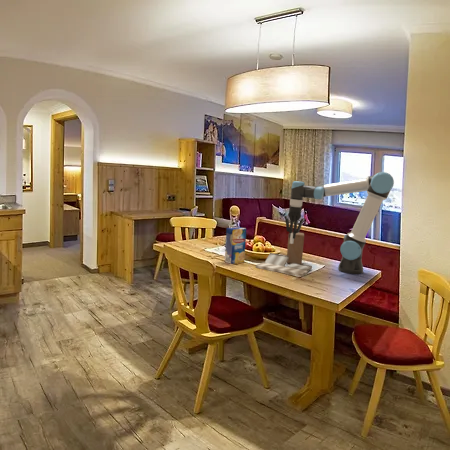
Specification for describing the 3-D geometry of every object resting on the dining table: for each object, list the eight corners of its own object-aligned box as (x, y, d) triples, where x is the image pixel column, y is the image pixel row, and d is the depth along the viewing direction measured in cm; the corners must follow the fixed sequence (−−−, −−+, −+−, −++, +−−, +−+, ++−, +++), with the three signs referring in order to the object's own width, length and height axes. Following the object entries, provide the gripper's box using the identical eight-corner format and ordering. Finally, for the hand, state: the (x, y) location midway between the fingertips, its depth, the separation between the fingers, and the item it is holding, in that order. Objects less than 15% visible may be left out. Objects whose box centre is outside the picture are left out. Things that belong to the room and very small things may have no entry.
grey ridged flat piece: (288, 258, 256) (288, 255, 255) (283, 267, 250) (283, 265, 249) (270, 254, 263) (269, 252, 262) (264, 264, 257) (264, 262, 256)
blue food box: (244, 262, 261) (246, 228, 258) (231, 263, 254) (233, 229, 251) (237, 259, 266) (239, 227, 263) (224, 261, 260) (226, 227, 257)
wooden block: (301, 265, 262) (304, 235, 259) (286, 263, 264) (288, 233, 261) (301, 261, 272) (304, 232, 269) (287, 260, 274) (289, 231, 271)
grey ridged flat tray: (307, 273, 241) (307, 270, 241) (301, 276, 233) (301, 273, 233) (262, 264, 257) (262, 262, 256) (255, 267, 248) (255, 265, 248)
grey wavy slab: (311, 268, 250) (311, 266, 250) (306, 272, 243) (306, 269, 243) (292, 265, 257) (292, 262, 257) (286, 268, 250) (286, 265, 249)
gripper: (307, 207, 249) (303, 244, 252) (288, 204, 255) (284, 240, 259) (303, 207, 243) (299, 245, 246) (283, 205, 249) (279, 242, 253)
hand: (291, 243), depth 252 cm, fingers closed
